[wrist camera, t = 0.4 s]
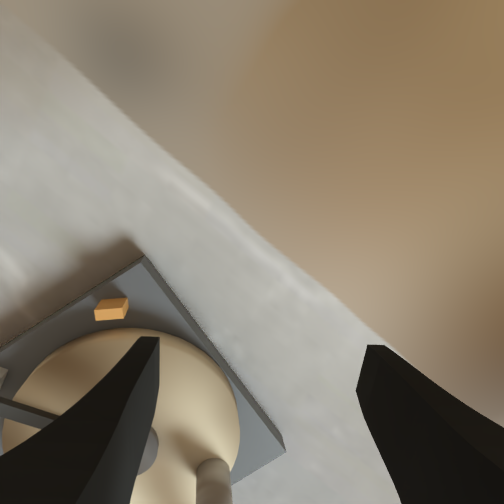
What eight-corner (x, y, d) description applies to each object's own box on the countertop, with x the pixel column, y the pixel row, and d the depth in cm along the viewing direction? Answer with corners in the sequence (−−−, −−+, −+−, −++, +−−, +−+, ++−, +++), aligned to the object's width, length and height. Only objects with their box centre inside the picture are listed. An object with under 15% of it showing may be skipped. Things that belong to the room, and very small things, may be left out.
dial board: (117, 535, 26) (107, 580, 24) (-51, 380, 22) (-88, 413, 19) (281, 435, 26) (291, 469, 23) (144, 254, 21) (136, 270, 19)
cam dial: (110, 540, 24) (87, 635, 20) (-36, 407, 21) (-108, 485, 16) (275, 439, 24) (293, 511, 19) (156, 285, 20) (141, 326, 15)
